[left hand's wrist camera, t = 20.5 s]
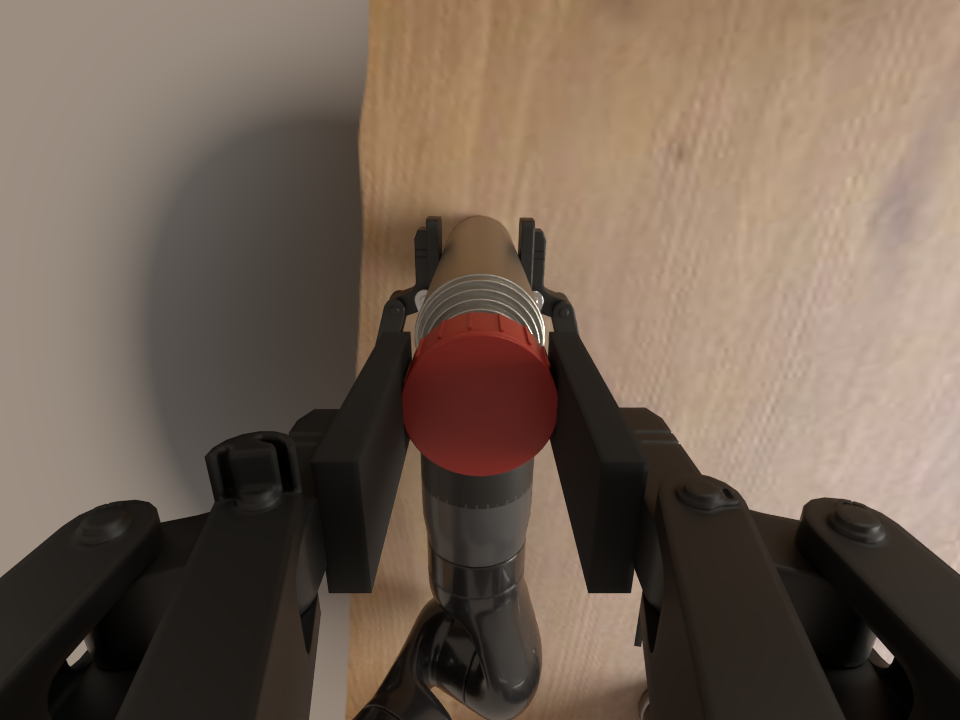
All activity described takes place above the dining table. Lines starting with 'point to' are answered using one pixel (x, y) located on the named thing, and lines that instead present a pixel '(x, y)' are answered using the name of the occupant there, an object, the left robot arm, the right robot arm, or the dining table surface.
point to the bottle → (480, 280)
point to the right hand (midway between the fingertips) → (479, 219)
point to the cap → (479, 395)
